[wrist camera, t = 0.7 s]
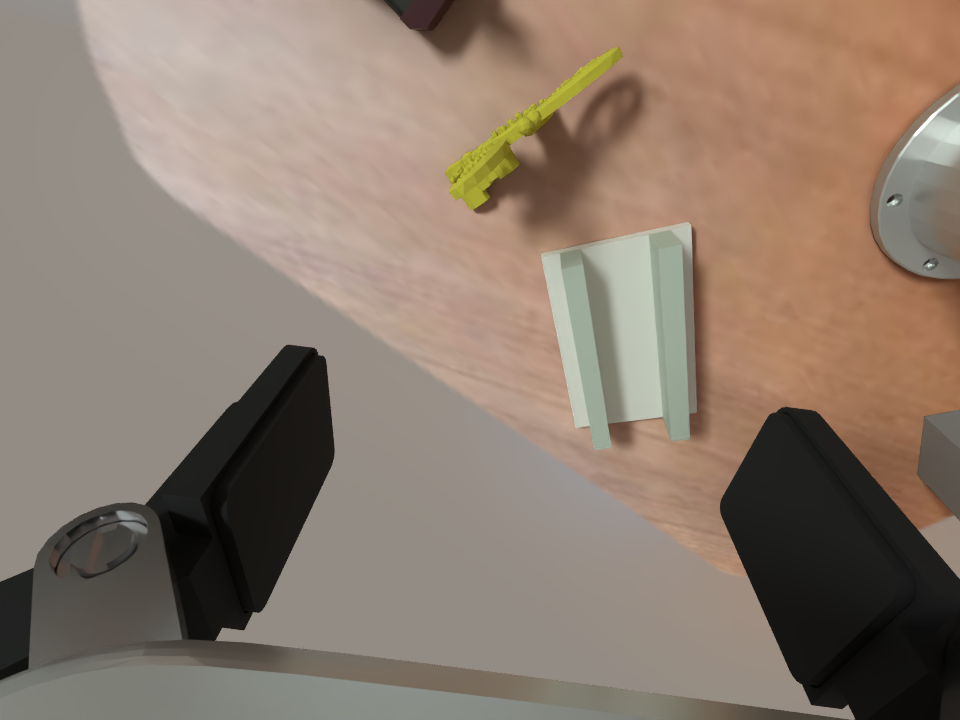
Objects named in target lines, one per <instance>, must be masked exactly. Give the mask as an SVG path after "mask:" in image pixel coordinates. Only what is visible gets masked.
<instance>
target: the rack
mask: <svg viewBox="0 0 960 720" xmlns="http://www.w3.org/2000/svg"><path fill="white" fill-rule="evenodd" d="M541 258H542V263H543V268H544V273H545V278H546V282H547V287H548V292H549V297H550V302H551V307H552V312H553V317H554V322H555V327H556V332H557V337H558V342H559V347H560V352H561V357H562V362H563V367H564V372H565V377H566V382H567V387H568V392H569V397H570V402H571V407H572V412H573V417H574V422H575V427H576V428H578V427H587V426H590V431H591V436H592V442H593V447H594V450H598V449H606V448H611V441H610V435H609V429H608V424H611V423H619V422H627V421H635V420H643V419H651V418H659V417H663V419H664V422H665V425H666V428H667V431H668V433H669V436H670V439H671V441H677V440H686V439H690V427H689V414H691V413H697V397H696V364H695V331H694V297H693V264H692V231H691V225H690V223H689V222H686V223H681V224H676V225H672V226H667V227H662V228H658V229H653V230H648V231H643V232H639V233H634V234H629V235H625V236H620V237H615V238H611V239H606V240H601V241H596V242H592V243H587V244H582V245H578V246H573V247H568V248H564V249H559V250H554V251H549V252H545V253H541Z"/></svg>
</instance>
